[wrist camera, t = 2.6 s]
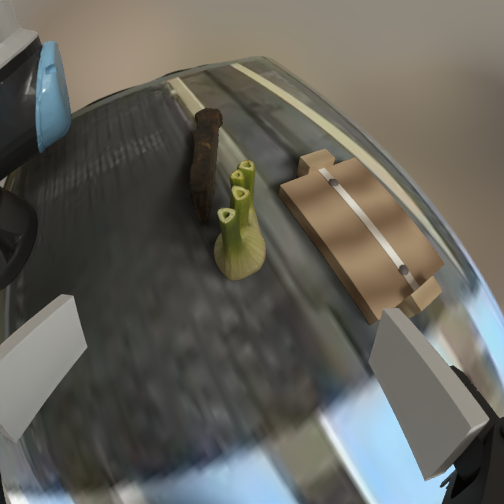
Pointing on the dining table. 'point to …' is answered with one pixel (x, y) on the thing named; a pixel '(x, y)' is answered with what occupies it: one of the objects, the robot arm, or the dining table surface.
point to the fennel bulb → (240, 228)
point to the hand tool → (204, 161)
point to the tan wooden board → (363, 235)
